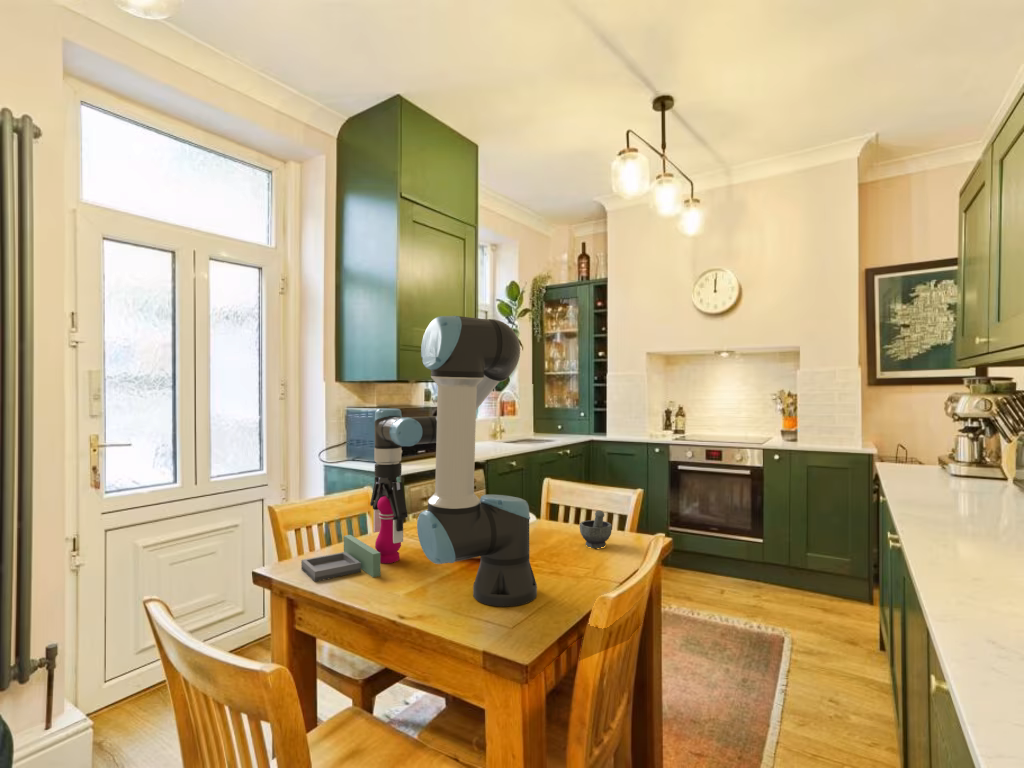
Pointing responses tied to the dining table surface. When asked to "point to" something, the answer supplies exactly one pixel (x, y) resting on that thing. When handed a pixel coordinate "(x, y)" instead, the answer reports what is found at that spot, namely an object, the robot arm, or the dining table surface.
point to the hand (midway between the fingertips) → (387, 536)
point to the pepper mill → (386, 533)
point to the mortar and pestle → (596, 531)
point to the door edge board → (363, 555)
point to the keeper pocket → (330, 566)
